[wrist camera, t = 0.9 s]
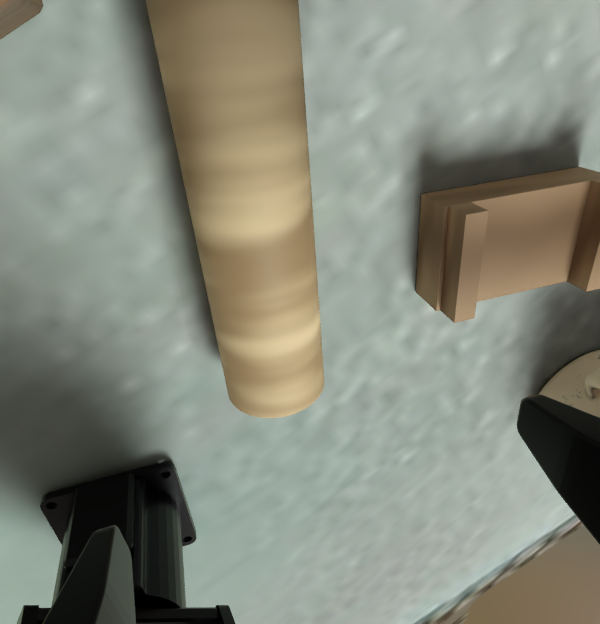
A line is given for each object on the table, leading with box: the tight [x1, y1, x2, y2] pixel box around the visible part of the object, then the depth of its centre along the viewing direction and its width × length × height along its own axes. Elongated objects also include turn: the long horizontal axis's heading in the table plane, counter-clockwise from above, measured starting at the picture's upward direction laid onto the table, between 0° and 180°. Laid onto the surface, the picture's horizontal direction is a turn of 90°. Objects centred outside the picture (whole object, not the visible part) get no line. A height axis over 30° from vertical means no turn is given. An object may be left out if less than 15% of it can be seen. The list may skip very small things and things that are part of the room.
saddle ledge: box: [416, 167, 600, 323], centre depth 21 cm, size 5×8×3 cm, turn 95°
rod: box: [146, 0, 324, 418], centre depth 17 cm, size 16×4×4 cm, turn 5°
